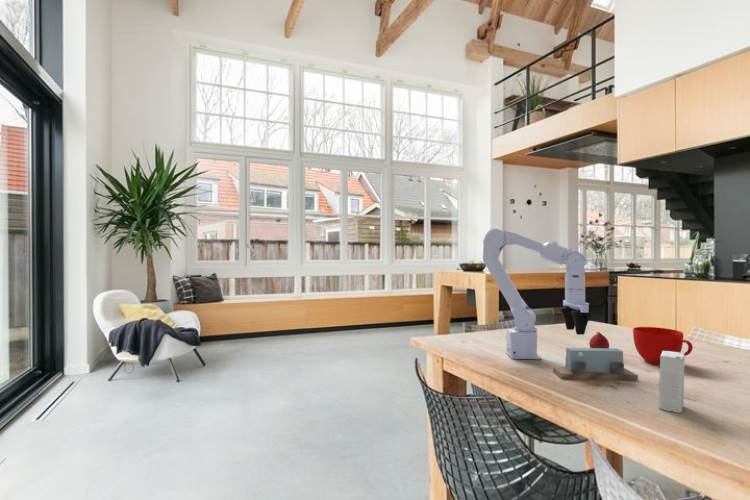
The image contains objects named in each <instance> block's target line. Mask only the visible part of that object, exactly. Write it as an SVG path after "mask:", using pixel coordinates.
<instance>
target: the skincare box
mask: <svg viewBox="0 0 750 500" xmlns="http://www.w3.org/2000/svg"><path fill="white" fill-rule="evenodd" d="M684 353H685V352H680V353H679V352H671V351H662V354H661V356H660V365H659V382H658V385H659V387H658V409H659V410H664V411H668V412H671V411H673V412H672V413H678V414H682V413H683V409H684V403H685V402H684V400H685V362H686V361H685V357H686V356H685V354H684Z"/></svg>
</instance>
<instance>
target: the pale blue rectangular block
mask: <svg viewBox="0 0 750 500" xmlns="http://www.w3.org/2000/svg"><path fill="white" fill-rule="evenodd" d="M573 362H585V363H586V372H600V373H611V363H624V351H623V350H621V349H619V348H613V347H612V348H610V347H609V348H590V347H566V348H565V367H566V369H567V370H569V371H570V372H573Z"/></svg>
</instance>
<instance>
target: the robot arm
mask: <svg viewBox="0 0 750 500" xmlns="http://www.w3.org/2000/svg"><path fill="white" fill-rule="evenodd" d="M482 243H483V244H482V245H483V247H482V248H483V252H482V260H483V262H484V265H485V266H486V268H487V270H488V272H489V273H490V275H491V277H492V278H493V280H494V282H495V284H496V285H497V287H498V288H499V290H500V292H501V294H502V296H503V297H504V299H505V301H506V302H507V304H508V306H509V308H510V311H511V314H512V317H513V319H514V325H515V326H514V327H513V329H507V330H506V336H505V337H506V345H505V346H506V351H505V354H506V355H508V356H509V358H511V359H514V360H516V359H518V360H520V359H521V360H542V356H540V355H539V354H538V329H537V327H535V324H536V321H537V315H536V312H535V311H534V310H533V309H532V308H530V307H529V306H528V304H527V303H526V302H525V300H524V299H523V298H522V297H521V295H520V292H519V291H518V289H517V287H516V286H515V284H514V283H513V281H512V279H511V277H510V276H509V274H508V273H507V271H506V269H505V268H504V266H503V264H502V263H501V261H500V256H501V252H502V250H503V249H504V247H505V246H511V245H517V246H520V247H523V248H526V249H528V250H532V251H533V252H537V253H539V254H540V257H541V258H542V259H544V260H547V261H550V262H552V263H555V264H557V265H560V266H562V265H565V275H564V299H563V300H562V306H563V307H559V310H560V312H561V315H562V317H563V319H564V324H565V327H566V330H567V331H570V330H572V331H573V330H575V334H576V335H577V336H578V335H579V336H580V335H583V336H584V335H585V333H586V329H587V327H588V326H587V325H588V323H589V322H590V318H591V317H593V313H592V312H589V309H590V307H589V306H590V303H589V302H586V275H585V273H586V272H585V271H586V269H585V266H586V264H587V260H586V257H585V255H583V253H581V252H579V251H577V250H573V248H572V247H565V246H562V245H560V244H558V242H556V241H552V242H551V241H547V242H544V243H541V242H539V241H538V240H537V241H536V240H535V239H531V238H529V237H526V236H524V235H521V234H519V233H517V232H511V231H508V230H507V231H506V230H502V229H499V228H491V229H490V230H488V231H487V232H486V234H485V236H484V239H483V241H482Z"/></svg>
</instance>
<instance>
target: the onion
mask: <svg viewBox="0 0 750 500" xmlns="http://www.w3.org/2000/svg"><path fill="white" fill-rule="evenodd" d="M588 343H589V344H588V345H589V348H610V342H609V340H608V339H607V337H606V336H605V335H603V334H602V333H601V332H600V331H596V334H594V335H593V336H592V337H591V338H590V339H589V342H588Z"/></svg>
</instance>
